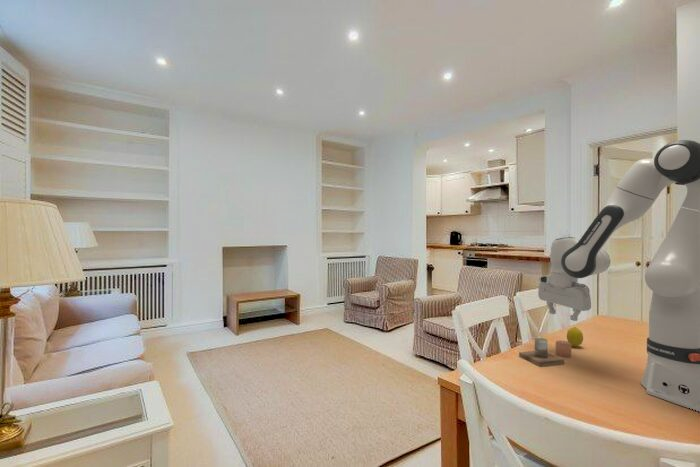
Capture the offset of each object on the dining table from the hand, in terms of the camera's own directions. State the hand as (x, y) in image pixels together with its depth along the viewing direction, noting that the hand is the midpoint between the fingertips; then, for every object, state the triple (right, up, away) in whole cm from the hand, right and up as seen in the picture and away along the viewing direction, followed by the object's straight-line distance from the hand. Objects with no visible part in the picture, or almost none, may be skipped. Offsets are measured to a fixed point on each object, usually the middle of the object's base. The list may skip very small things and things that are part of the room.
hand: (562, 316), depth 127 cm
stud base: (-11, -14, -5) cm, 19 cm away
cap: (0, -14, 0) cm, 14 cm away
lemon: (+10, -14, +9) cm, 20 cm away
